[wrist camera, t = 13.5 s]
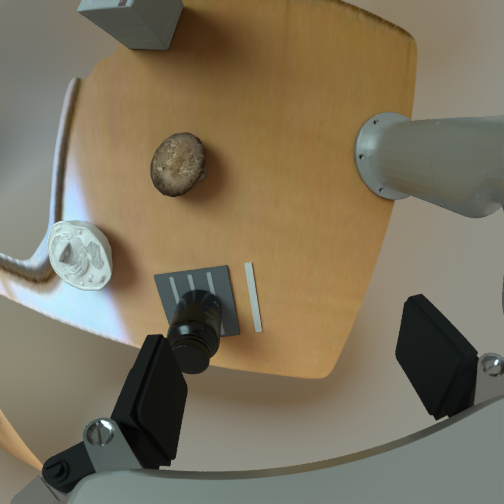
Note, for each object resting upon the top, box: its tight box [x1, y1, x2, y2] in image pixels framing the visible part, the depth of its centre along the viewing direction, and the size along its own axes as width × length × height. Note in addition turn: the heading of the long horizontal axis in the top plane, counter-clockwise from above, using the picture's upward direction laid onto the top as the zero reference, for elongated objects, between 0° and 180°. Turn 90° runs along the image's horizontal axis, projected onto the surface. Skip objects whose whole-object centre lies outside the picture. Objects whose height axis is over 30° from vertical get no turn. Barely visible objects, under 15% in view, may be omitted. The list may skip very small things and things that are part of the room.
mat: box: [154, 265, 240, 337], centre depth 41 cm, size 11×12×1 cm
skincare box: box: [77, 0, 184, 50], centre depth 19 cm, size 8×7×16 cm
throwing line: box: [244, 262, 262, 332], centre depth 41 cm, size 1×12×1 cm, turn 8°
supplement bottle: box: [167, 289, 222, 374], centre depth 35 cm, size 7×7×12 cm
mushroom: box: [151, 132, 208, 197], centre depth 32 cm, size 8×8×6 cm
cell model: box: [47, 220, 113, 290], centre depth 35 cm, size 10×12×7 cm
